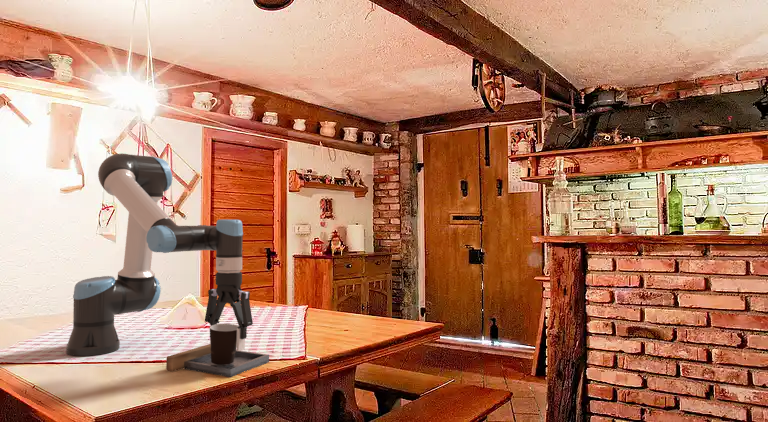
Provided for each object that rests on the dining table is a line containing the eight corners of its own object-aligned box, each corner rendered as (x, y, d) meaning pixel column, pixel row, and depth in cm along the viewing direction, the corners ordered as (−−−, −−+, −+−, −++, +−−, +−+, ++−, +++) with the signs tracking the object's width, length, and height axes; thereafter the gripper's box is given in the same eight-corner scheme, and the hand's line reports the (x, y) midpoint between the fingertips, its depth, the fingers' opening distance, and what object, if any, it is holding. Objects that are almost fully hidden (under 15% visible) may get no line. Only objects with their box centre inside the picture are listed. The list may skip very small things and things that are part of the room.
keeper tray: (184, 369, 151) (184, 361, 151) (225, 355, 166) (225, 348, 166) (230, 377, 144) (230, 369, 144) (269, 362, 159) (269, 354, 159)
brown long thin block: (166, 370, 149) (166, 356, 149) (216, 354, 167) (216, 341, 167) (172, 371, 148) (172, 357, 148) (222, 355, 166) (222, 342, 166)
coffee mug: (228, 367, 149) (231, 332, 149) (201, 363, 151) (203, 328, 150) (247, 356, 160) (249, 323, 160) (221, 352, 162) (224, 320, 162)
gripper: (192, 270, 156) (191, 346, 156) (249, 274, 147) (248, 355, 147) (210, 268, 163) (209, 341, 163) (266, 272, 154) (265, 349, 154)
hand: (228, 348), depth 155 cm, fingers closed on coffee mug, 9 cm apart
